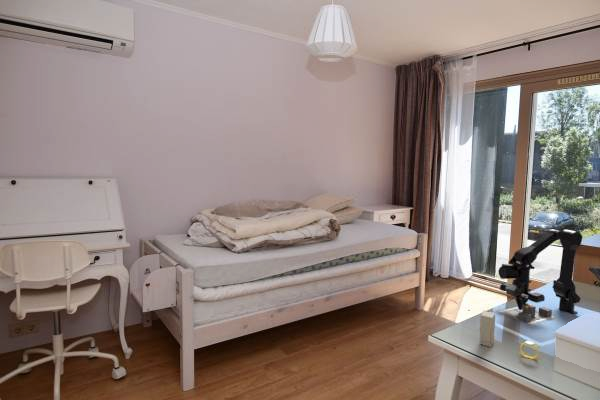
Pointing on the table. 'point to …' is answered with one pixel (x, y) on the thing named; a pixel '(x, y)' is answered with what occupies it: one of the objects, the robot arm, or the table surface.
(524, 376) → the table surface
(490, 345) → the skincare box
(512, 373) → the table surface
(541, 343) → the table surface
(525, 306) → the block
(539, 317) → the panel
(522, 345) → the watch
